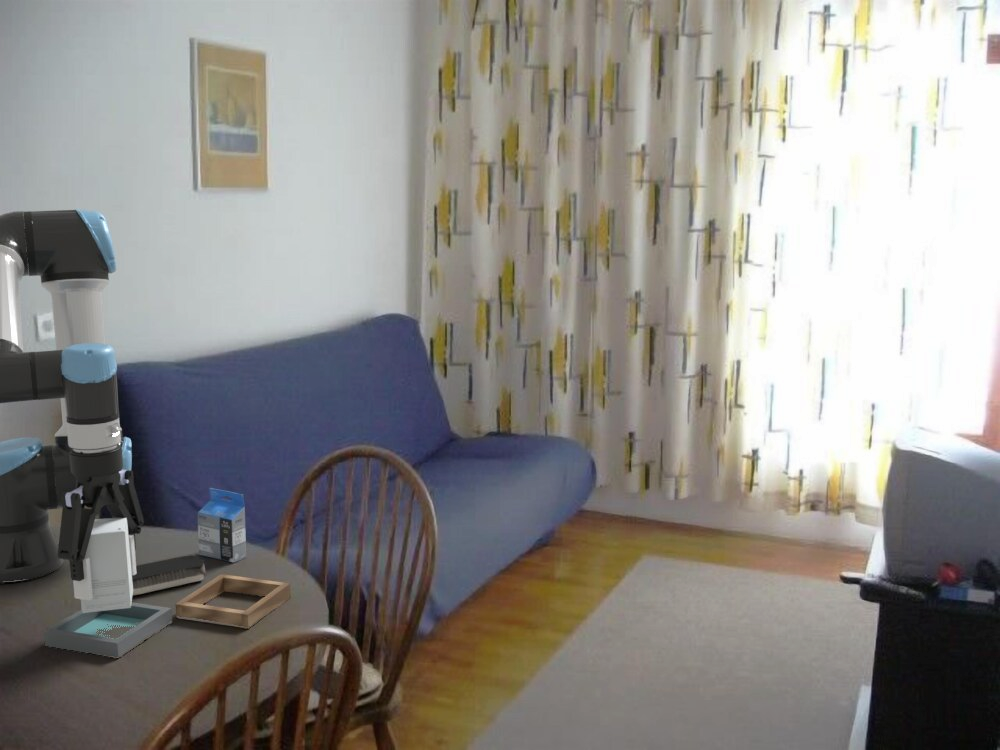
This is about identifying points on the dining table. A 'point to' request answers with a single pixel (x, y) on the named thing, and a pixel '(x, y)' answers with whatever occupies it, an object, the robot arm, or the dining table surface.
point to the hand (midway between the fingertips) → (106, 585)
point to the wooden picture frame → (270, 589)
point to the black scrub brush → (167, 574)
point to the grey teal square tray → (83, 626)
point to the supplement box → (109, 566)
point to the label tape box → (222, 527)
